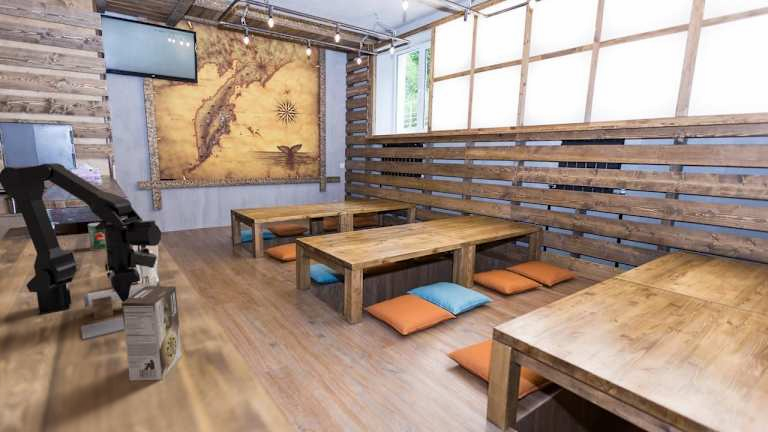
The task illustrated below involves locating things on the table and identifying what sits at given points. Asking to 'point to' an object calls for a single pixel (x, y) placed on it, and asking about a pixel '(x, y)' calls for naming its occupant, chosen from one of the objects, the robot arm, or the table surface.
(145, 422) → the table surface
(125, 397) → the table surface
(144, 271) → the beer glass
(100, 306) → the post left
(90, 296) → the rail
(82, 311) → the table surface
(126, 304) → the coffee box
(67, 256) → the robot arm
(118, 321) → the mat
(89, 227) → the canned tomato
